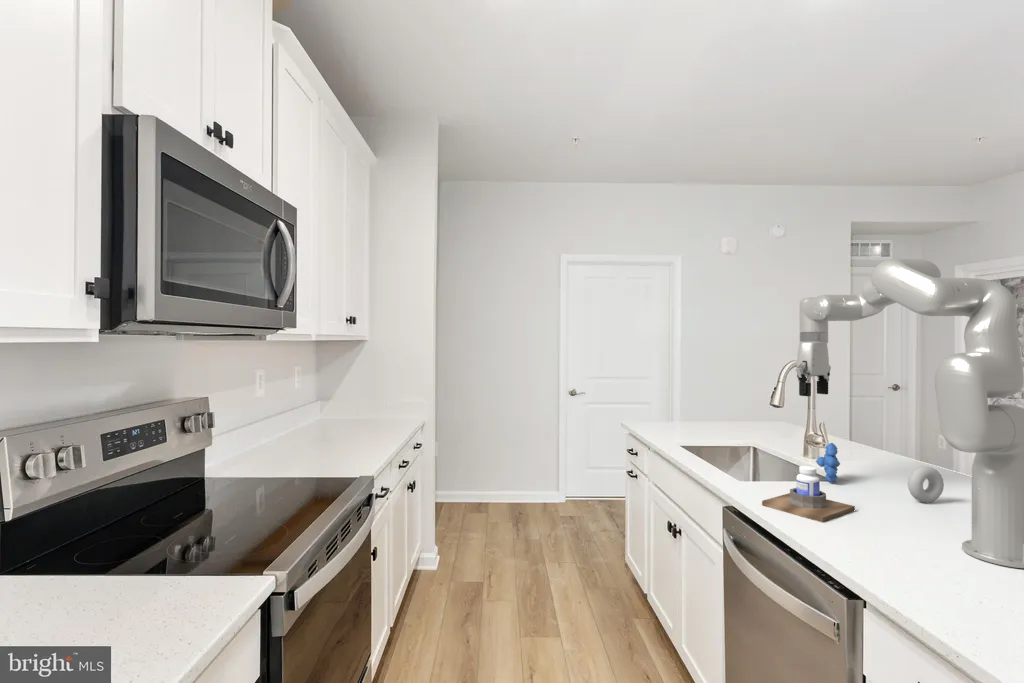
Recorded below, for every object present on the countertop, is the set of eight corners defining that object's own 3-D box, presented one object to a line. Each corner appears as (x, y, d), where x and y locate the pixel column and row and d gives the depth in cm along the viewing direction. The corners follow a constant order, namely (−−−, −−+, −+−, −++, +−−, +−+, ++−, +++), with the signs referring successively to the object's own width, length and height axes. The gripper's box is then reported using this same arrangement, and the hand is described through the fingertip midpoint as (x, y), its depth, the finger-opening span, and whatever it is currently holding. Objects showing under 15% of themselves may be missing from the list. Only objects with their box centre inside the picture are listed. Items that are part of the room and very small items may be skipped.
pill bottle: (815, 501, 144) (814, 465, 144) (823, 507, 138) (823, 470, 138) (793, 500, 145) (793, 464, 145) (800, 506, 139) (800, 469, 139)
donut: (935, 499, 149) (935, 464, 149) (947, 503, 145) (947, 467, 145) (904, 501, 147) (904, 465, 147) (915, 505, 144) (915, 468, 144)
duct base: (854, 510, 139) (854, 494, 139) (822, 522, 131) (822, 505, 131) (794, 495, 153) (794, 481, 153) (762, 505, 144) (762, 489, 144)
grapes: (816, 475, 175) (816, 439, 175) (840, 478, 171) (840, 441, 171) (814, 483, 165) (814, 445, 165) (840, 487, 161) (840, 447, 161)
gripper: (816, 338, 168) (816, 392, 168) (785, 338, 158) (785, 395, 158) (841, 338, 161) (841, 394, 161) (810, 338, 152) (810, 398, 152)
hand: (813, 394), depth 160 cm, fingers open, 9 cm apart
